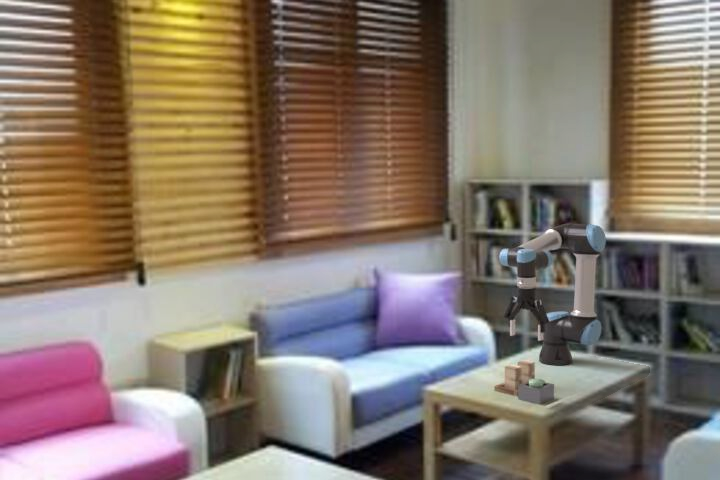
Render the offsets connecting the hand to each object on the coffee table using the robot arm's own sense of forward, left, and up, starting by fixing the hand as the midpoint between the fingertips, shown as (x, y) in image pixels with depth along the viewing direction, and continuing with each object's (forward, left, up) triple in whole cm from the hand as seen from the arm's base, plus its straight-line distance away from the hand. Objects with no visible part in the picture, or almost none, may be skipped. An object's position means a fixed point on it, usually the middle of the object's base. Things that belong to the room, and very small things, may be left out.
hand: (526, 337), depth 342 cm
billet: (0, 0, -20) cm, 20 cm away
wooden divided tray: (+5, 0, -22) cm, 22 cm away
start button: (+13, +13, -16) cm, 24 cm away
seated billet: (+9, 0, -20) cm, 22 cm away
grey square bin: (+13, +13, -22) cm, 28 cm away
